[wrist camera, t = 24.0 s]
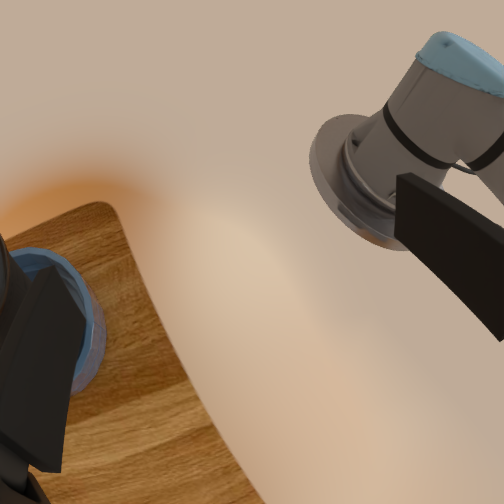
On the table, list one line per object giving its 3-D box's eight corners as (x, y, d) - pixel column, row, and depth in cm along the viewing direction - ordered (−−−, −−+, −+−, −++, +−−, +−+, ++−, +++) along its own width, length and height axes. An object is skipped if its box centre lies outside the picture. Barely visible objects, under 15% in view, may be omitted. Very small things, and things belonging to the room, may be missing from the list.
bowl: (75, 248, 27) (59, 222, 23) (132, 363, 24) (122, 358, 20) (-19, 304, 22) (-45, 287, 18) (27, 420, 19) (0, 424, 15)
